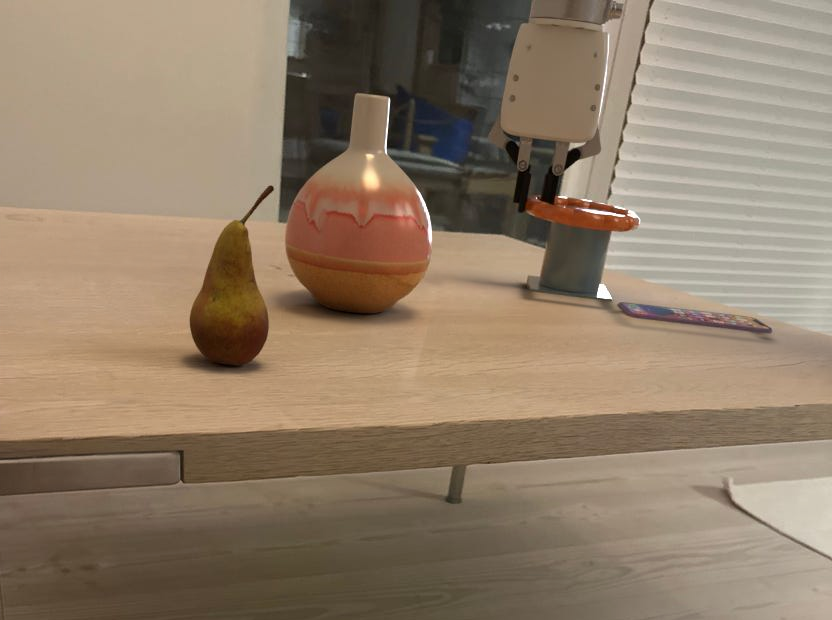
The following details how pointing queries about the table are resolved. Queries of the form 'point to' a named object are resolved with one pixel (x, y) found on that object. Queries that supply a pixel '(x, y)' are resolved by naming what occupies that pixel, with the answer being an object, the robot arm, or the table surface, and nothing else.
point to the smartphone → (694, 317)
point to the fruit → (231, 300)
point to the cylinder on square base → (573, 261)
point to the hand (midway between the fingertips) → (531, 211)
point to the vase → (360, 223)
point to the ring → (583, 214)
